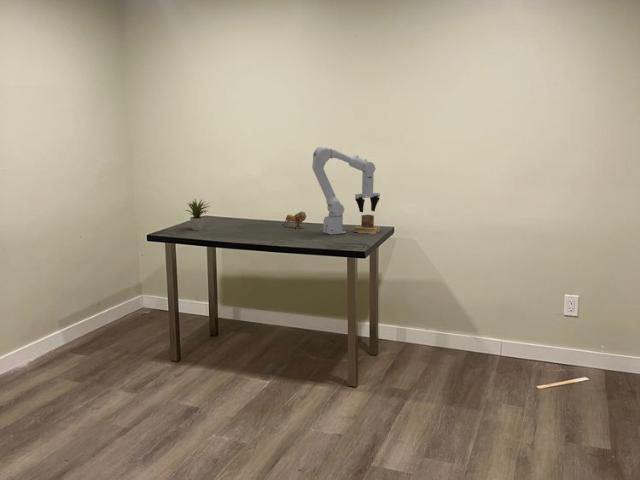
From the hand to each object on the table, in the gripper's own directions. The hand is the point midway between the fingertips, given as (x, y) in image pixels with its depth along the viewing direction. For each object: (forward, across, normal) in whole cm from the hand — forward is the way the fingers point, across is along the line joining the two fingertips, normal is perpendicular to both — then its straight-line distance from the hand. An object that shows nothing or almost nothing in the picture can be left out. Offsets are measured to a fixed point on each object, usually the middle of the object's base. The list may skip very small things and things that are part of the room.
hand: (367, 211), depth 309 cm
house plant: (+11, -73, +51) cm, 89 cm away
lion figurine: (+11, -25, +31) cm, 41 cm away
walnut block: (+8, 0, -1) cm, 8 cm away
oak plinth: (+10, 0, -1) cm, 10 cm away
